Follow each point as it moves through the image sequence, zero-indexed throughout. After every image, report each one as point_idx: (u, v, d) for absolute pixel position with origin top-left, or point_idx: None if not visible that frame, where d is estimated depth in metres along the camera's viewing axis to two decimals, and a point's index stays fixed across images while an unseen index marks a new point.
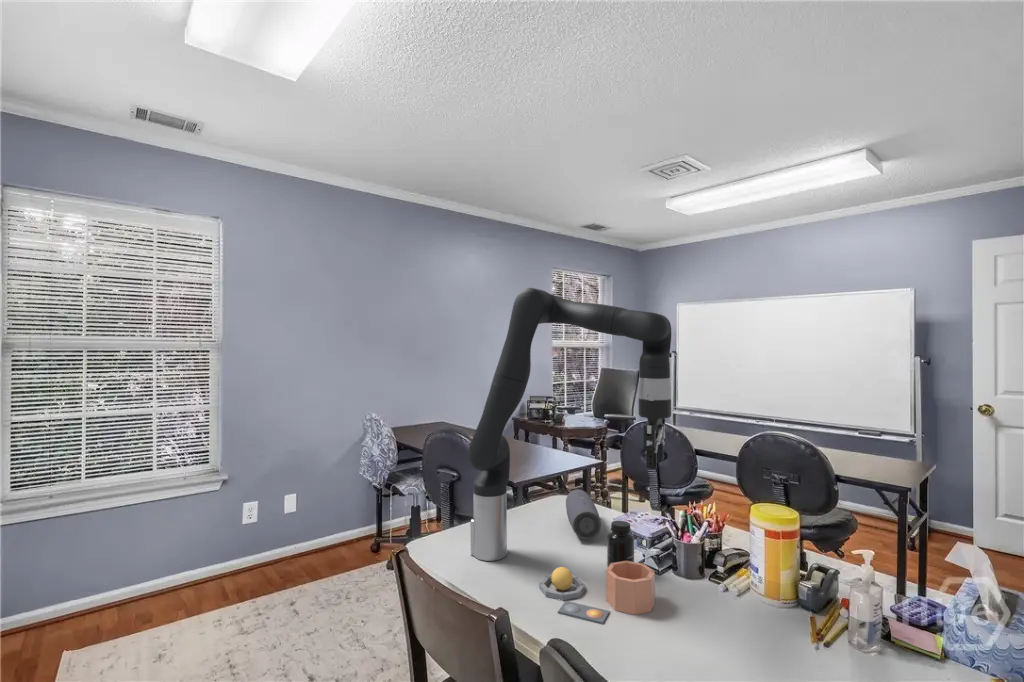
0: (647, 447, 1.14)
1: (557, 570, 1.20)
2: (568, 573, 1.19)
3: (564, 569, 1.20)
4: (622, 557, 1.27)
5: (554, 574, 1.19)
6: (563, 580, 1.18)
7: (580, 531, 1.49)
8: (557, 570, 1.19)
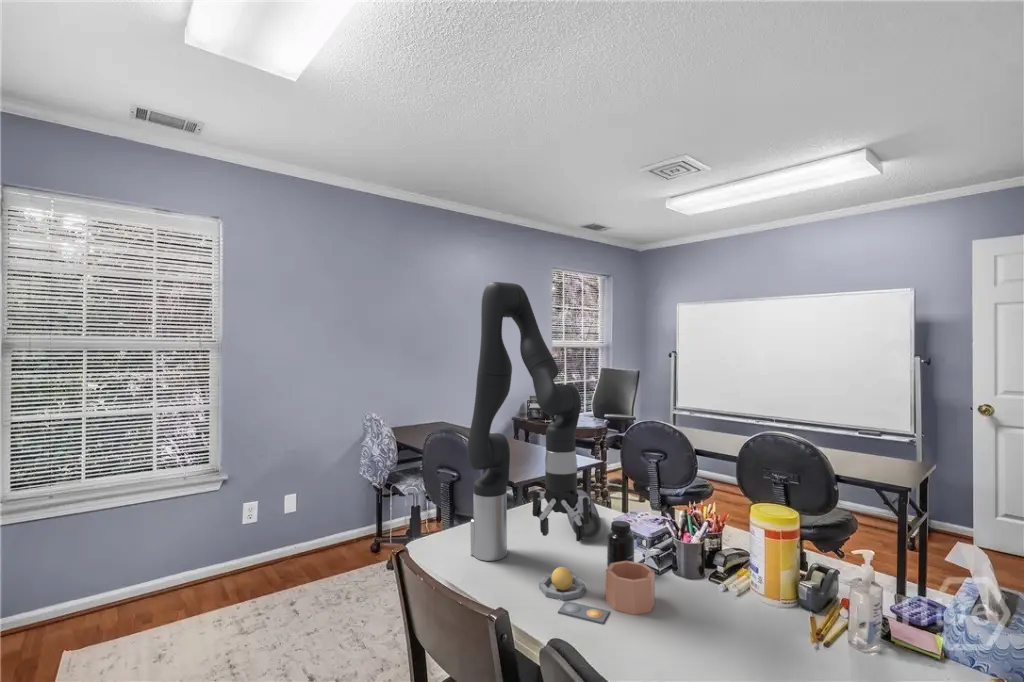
0: None
1: (557, 570, 1.20)
2: (568, 573, 1.19)
3: (564, 569, 1.20)
4: (622, 557, 1.27)
5: (554, 574, 1.19)
6: (563, 580, 1.18)
7: None
8: (557, 570, 1.19)
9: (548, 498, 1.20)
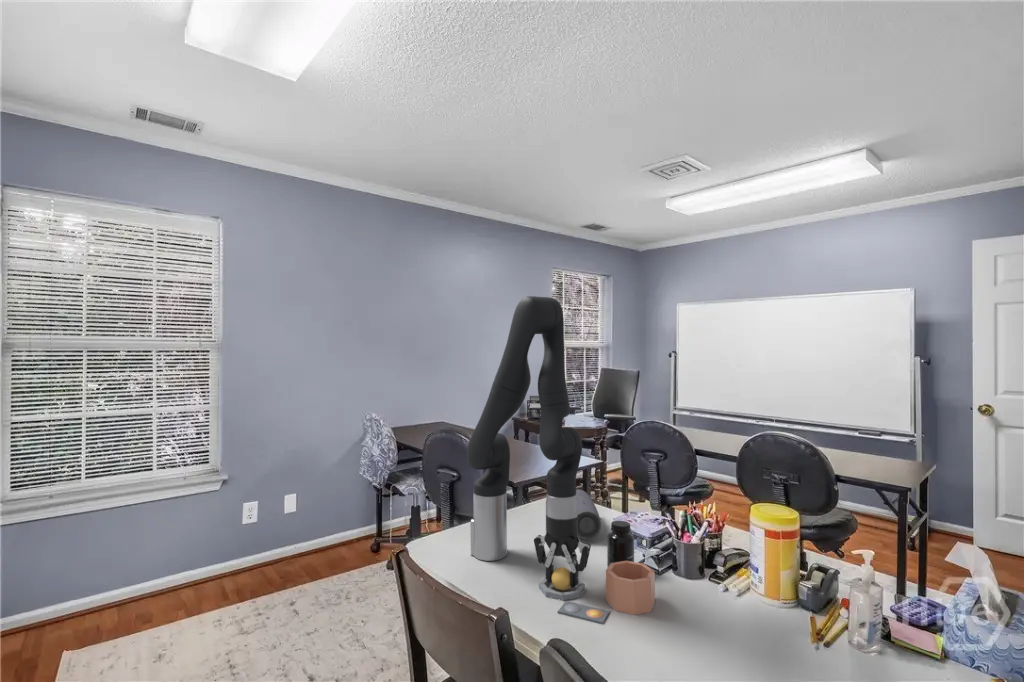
0: None
1: (557, 570, 1.20)
2: (568, 573, 1.19)
3: (564, 569, 1.20)
4: (622, 557, 1.27)
5: (554, 574, 1.19)
6: (563, 580, 1.18)
7: (580, 531, 1.49)
8: (557, 570, 1.19)
9: (549, 541, 1.20)
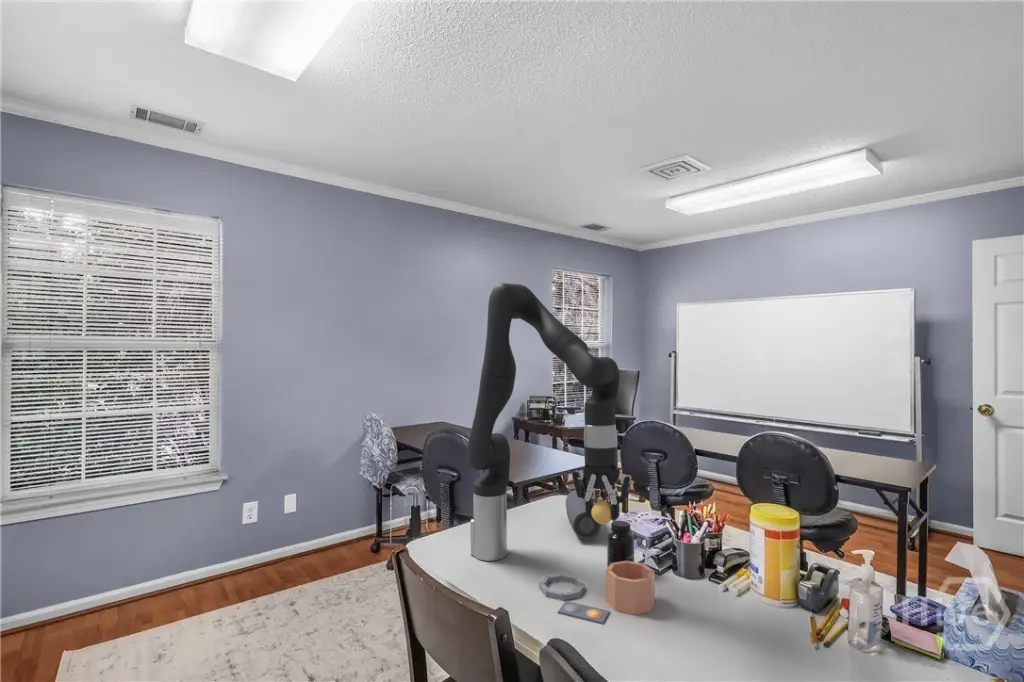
0: None
1: (597, 503, 1.15)
2: (609, 506, 1.15)
3: (604, 502, 1.15)
4: (622, 557, 1.27)
5: (594, 507, 1.15)
6: (604, 512, 1.13)
7: (580, 531, 1.49)
8: (597, 504, 1.15)
9: (588, 474, 1.16)
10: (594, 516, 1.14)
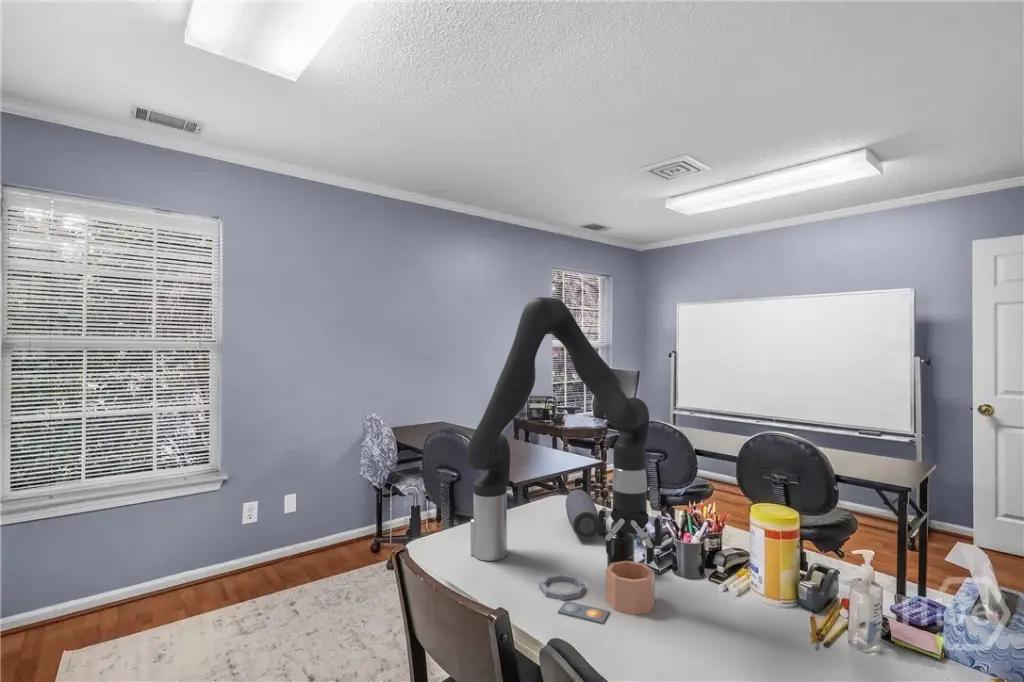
0: None
1: None
2: None
3: None
4: (622, 557, 1.27)
5: None
6: None
7: (580, 531, 1.49)
8: None
9: (615, 518, 1.14)
10: None
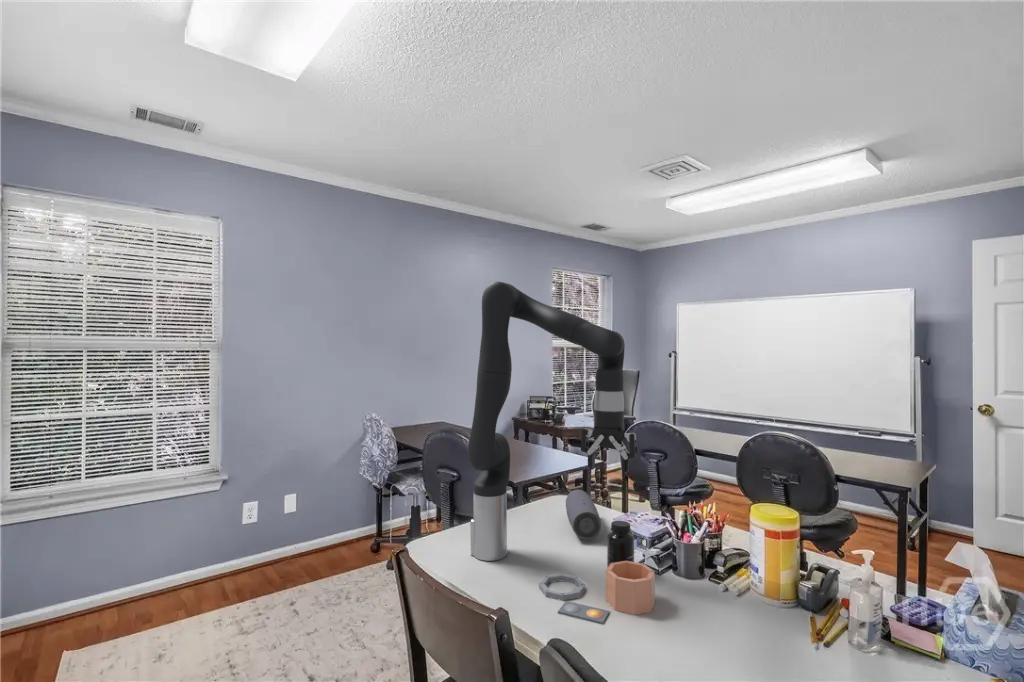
0: (634, 453, 1.26)
1: None
2: None
3: None
4: (622, 557, 1.27)
5: None
6: None
7: (580, 531, 1.49)
8: None
9: (596, 435, 1.30)
10: None
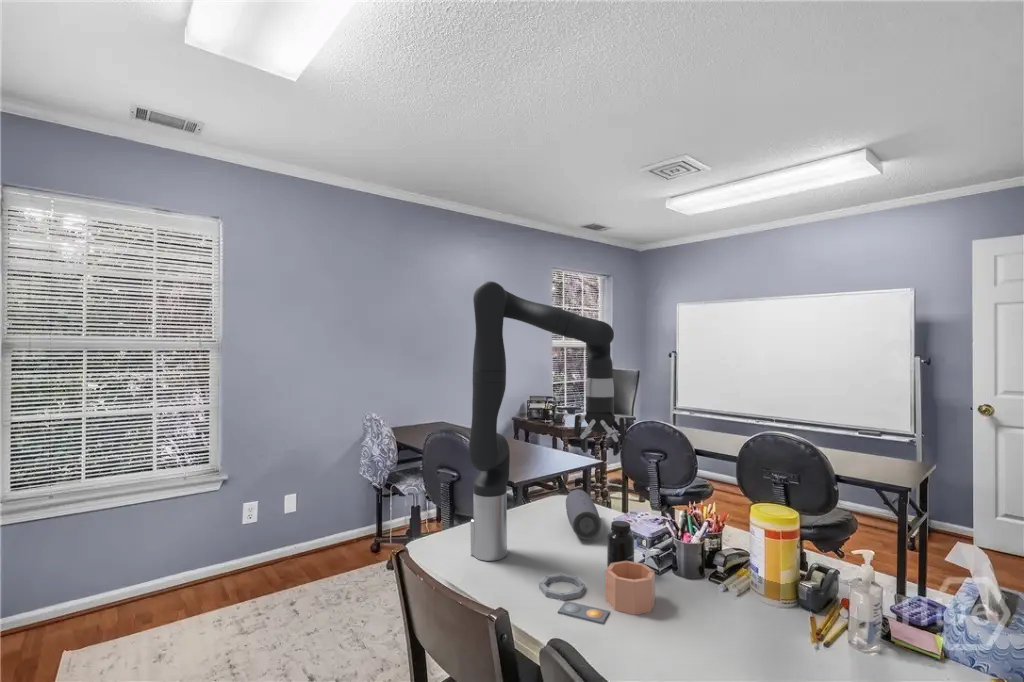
0: (624, 436, 1.35)
1: None
2: None
3: None
4: (622, 557, 1.27)
5: None
6: None
7: (580, 531, 1.49)
8: None
9: (588, 420, 1.39)
10: None
